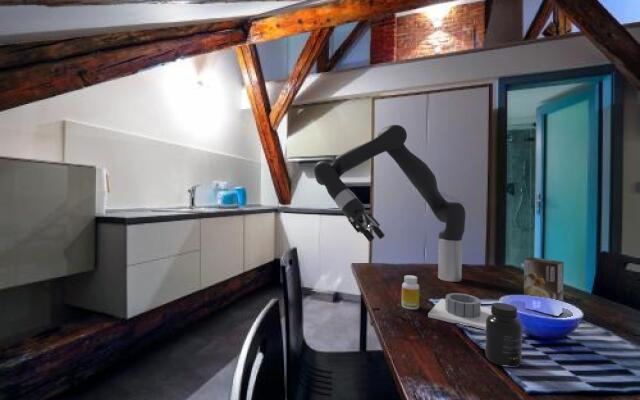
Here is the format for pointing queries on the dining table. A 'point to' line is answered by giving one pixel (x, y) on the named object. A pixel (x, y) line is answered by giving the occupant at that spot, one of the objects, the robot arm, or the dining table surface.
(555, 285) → the coffee box
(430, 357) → the dining table surface
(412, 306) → the supplement bottle
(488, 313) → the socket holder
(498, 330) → the supplement bottle
